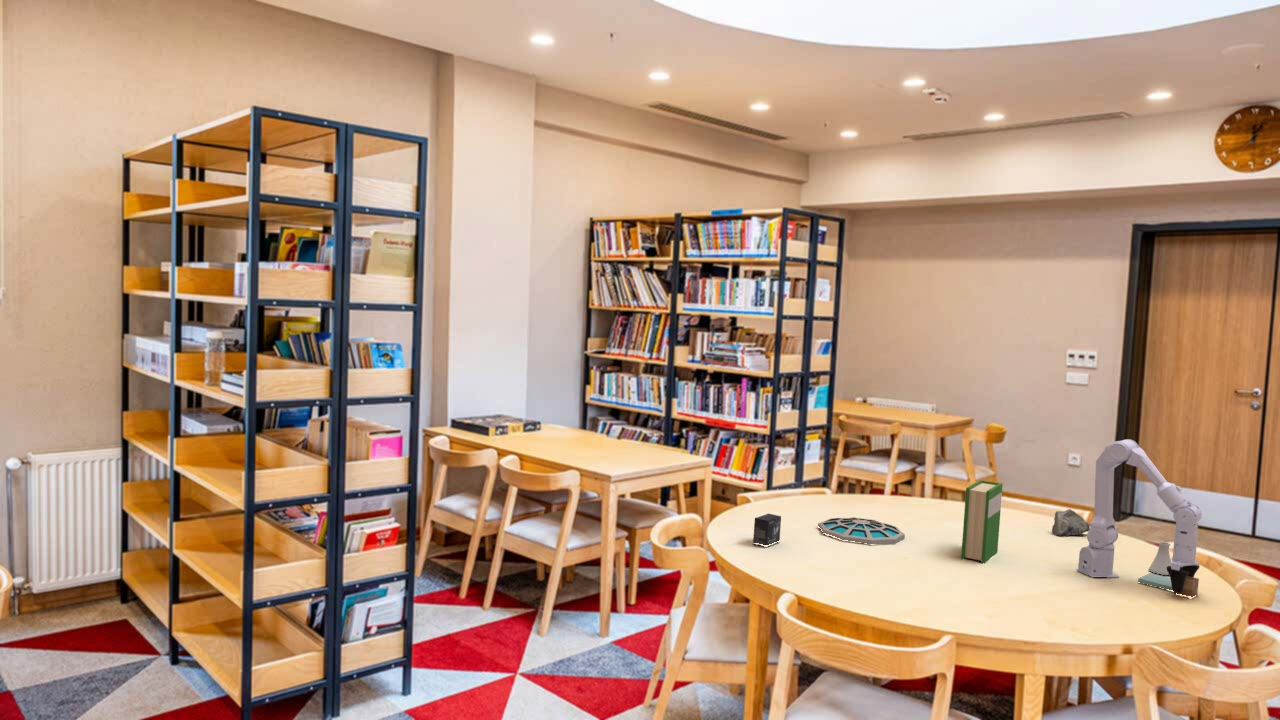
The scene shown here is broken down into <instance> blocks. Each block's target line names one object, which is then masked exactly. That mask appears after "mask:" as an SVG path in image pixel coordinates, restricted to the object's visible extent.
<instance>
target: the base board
mask: <svg viewBox="0 0 1280 720" xmlns="http://www.w3.org/2000/svg"><path fill="white" fill-rule="evenodd" d="M1138 582H1140V583H1144V584H1148V585H1152V586H1156V587H1161V588H1164V589H1169V590H1173V589H1172V584H1171V579H1170V576H1163V575H1159V574H1155V573H1152V572H1150V573H1149V572H1148V573H1147V574H1144V575H1143V576H1141V577H1139V578H1137V583H1138Z"/></svg>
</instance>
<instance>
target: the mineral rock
mask: <svg viewBox="0 0 1280 720" xmlns="http://www.w3.org/2000/svg"><path fill="white" fill-rule="evenodd" d="M1053 518H1054V519H1053V521H1054V523H1053V525H1052V528H1051V532H1052V533H1053V534H1054V536H1057V537H1058V536H1063V537H1064V536H1065V537H1067V536H1076V535H1077V536H1079V535H1082V534H1084V533H1088V531H1089V530H1090V526H1091V523H1089V522H1088V521H1087V522H1086V520H1085V519H1084V518H1083V516H1081V515H1080V514H1079V513H1076V512H1075V511H1074V510H1072V509H1071V508H1068V509H1066V510H1064V511H1061V510H1060V511H1059V510H1058V511H1055V513H1054V517H1053Z"/></svg>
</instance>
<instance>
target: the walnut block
mask: <svg viewBox="0 0 1280 720" xmlns="http://www.w3.org/2000/svg"><path fill="white" fill-rule="evenodd" d="M1199 581H1200V579H1199V578H1198V577H1195V576H1194V577H1190V576H1187V577H1186V579H1185V582H1184V586H1183V590H1182V592H1181V593H1178V592H1174V594H1175V593H1177V594H1182V595H1186V596H1191V597H1193V596H1195V595H1197V596H1198V593H1199V592H1198V591H1199Z"/></svg>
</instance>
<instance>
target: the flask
mask: <svg viewBox="0 0 1280 720" xmlns="http://www.w3.org/2000/svg"><path fill="white" fill-rule="evenodd" d="M1157 544H1158V549H1157V553H1156V555H1155V557H1154V559H1153V561H1152V563H1151V564H1150V566H1149V568H1148V569H1147V570H1148V571H1149V572H1150V571H1151V572H1150V573H1152V572H1153V573H1152V574H1155V573H1157V574H1156V575H1159V574H1161V576H1163V575H1169V573H1168V571H1167V567H1168V566H1171V565H1172V558H1171V557H1170V546H1171V543H1170V542H1165V541H1158V542H1157Z"/></svg>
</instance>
